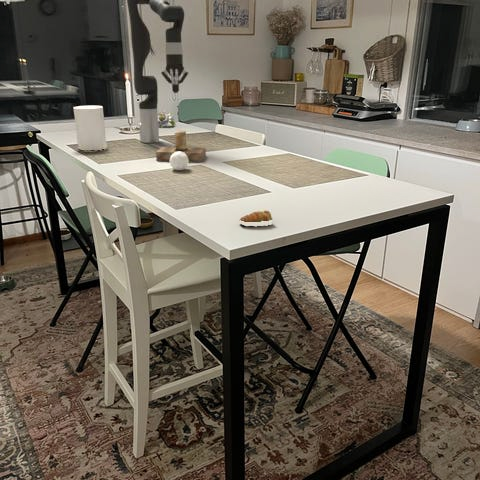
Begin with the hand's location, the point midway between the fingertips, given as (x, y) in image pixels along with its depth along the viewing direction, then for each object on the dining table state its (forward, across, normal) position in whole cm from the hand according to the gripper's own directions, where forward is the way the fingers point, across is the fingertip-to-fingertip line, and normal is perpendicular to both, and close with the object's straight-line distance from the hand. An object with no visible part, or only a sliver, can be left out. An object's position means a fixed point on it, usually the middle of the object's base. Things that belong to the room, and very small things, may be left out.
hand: (175, 92), depth 230 cm
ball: (+27, +10, -40) cm, 49 cm away
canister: (+27, -43, -2) cm, 51 cm away
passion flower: (+27, -26, +71) cm, 80 cm away
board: (+27, +6, -19) cm, 34 cm away
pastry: (+28, +48, -101) cm, 115 cm away
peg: (+27, +6, -19) cm, 34 cm away
